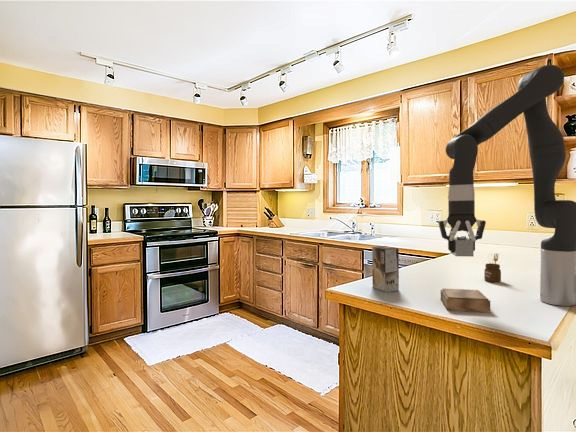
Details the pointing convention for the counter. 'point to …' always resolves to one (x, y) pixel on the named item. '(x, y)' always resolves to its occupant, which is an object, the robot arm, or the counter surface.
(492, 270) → the utensil holder
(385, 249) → the coffee box
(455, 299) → the walnut stand
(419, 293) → the counter surface
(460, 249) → the block
